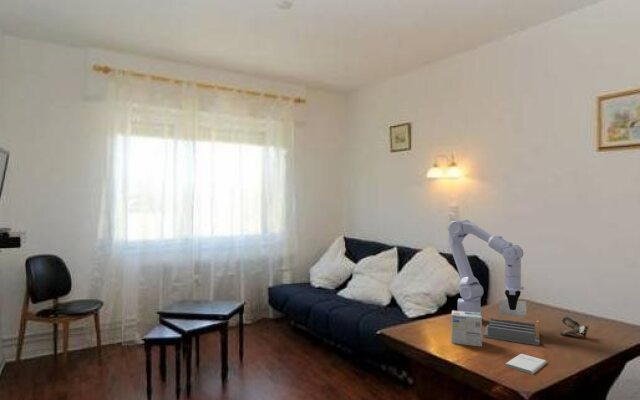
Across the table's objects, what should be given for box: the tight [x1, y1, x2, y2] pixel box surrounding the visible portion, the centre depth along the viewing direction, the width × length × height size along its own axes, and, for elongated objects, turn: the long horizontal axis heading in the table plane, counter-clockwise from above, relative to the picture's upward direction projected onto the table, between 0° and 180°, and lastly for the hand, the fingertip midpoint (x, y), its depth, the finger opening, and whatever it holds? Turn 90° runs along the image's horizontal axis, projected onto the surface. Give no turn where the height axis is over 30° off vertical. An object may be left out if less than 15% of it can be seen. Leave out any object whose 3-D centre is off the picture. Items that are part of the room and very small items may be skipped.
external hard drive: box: [504, 353, 547, 375], centre depth 131 cm, size 2×8×12 cm
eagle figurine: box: [559, 316, 590, 339], centre depth 158 cm, size 8×7×9 cm
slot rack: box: [482, 317, 540, 346], centre depth 158 cm, size 19×14×7 cm
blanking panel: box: [498, 298, 527, 318], centre depth 164 cm, size 10×2×6 cm, turn 63°
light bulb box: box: [450, 309, 483, 347], centre depth 151 cm, size 11×7×11 cm, turn 71°
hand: (512, 309), depth 164 cm, fingers closed on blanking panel, 1 cm apart
